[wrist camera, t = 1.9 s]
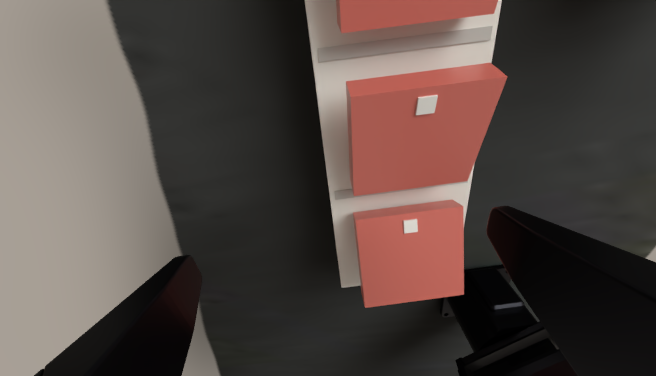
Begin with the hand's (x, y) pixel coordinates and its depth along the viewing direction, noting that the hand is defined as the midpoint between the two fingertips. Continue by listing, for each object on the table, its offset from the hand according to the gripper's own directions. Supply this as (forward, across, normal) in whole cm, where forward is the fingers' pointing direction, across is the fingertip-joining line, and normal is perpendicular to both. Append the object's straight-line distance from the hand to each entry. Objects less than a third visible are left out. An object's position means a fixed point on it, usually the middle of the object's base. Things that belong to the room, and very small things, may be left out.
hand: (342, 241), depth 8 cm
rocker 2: (+7, -4, 0) cm, 8 cm away
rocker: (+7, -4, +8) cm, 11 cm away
